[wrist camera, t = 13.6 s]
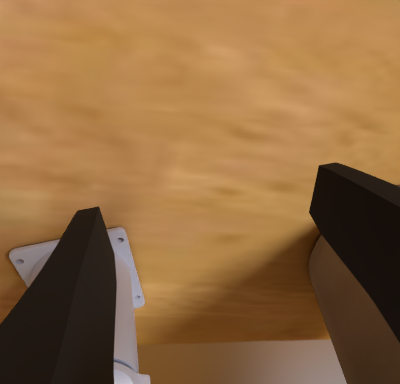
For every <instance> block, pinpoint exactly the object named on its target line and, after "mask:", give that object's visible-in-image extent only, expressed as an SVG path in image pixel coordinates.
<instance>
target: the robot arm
mask: <svg viewBox="0 0 400 384" xmlns="http://www.w3.org/2000/svg"><path fill="white" fill-rule="evenodd" d="M309 213H310V215H311V217H312V218H313V220H314V222H315V224H316V226H317V227H318V229H319V231H320V232H321V234H322V236H323V237H324V238H325V240H326V241H327V242H328V244H329V245H330V246H331V248H332V249H333V250H334V251H335V253H336V254H337V255H338V257H339V258H340V259H341V260H342V262H343V263H344V264H345V265H346V267H347V268H348V269H349V270H350V272H351V273H352V274H353V276H354V277H355V278H356V279H357V281H358V282H359V283H360V284H361V286H362V287H363V288H364V289H365V291H366V292H367V294H368V295H369V296H370V298H371V299H372V300H373V302H374V303H375V305H376V306H377V308H378V310H379V311H380V313H381V314H382V316H383V317H384V319H385V320H386V322H387V324H388V325H389V327H390V328H391V330H392V332H393V333H394V335H395V337H396V338H397V340H398V342H399V343H400V187H399V186H396V185H394V184H391V183H389V182H386V181H384V180H381V179H379V178H376V177H374V176H371V175H369V174H366V173H364V172H361V171H359V170H356V169H354V168H351V167H348V166H345V165H342V164H339V163H330V164H325V165H319V168H318V173H317V178H316V182H315V187H314V192H313V197H312V201H311V206H310V211H309ZM118 238H123V239H118ZM9 259H10V260H11V262H12V263H13V265H14V267H15V268H16V270H17V271H18V273H19V274H20V276H21V278H22V279H23V281H24V282H25V284H26V286H27V287H28V289H27V290H26V292H25V293H24V295H23V296H22V297H21V299H20V300H19V301H18V303H17V304H16V305H15V307H14V308H13V309H12V310H11V312H10V313H9V314H8V316H7V317H6V318H5V319H4V321H3V322H2V323H1V324H0V384H151V383H150V376H149V375H145V374H139V364H138V351H137V339H136V327H135V315H134V309H135V308H139V307H142V306H143V305H144V304H145V299H144V296H143V292H142V289H141V285H140V281H139V278H138V274H137V270H136V267H135V263H134V260H133V256H132V252H131V249H130V245H129V241H128V238H127V234H126V231H125V229H124V228H121V227H117V228H112V229H107V230H106V226H105V223H104V220H103V217H102V214H101V211H100V208H99V207H94V208H89V209H84V210H78V211H77V212H76V214H75V215H74V217H73V219H72V220H71V222H70V224H69V225H68V227H67V229H66V231H65V232H64V234H63V236H62V237H61V239H58V240H53V241H49V242H44V243H39V244H34V245H29V246H24V247H19V248H15V249H12V250H11V251H10V254H9ZM18 259H21V260H18Z"/></svg>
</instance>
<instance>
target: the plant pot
mask: <svg viewBox="0 0 400 384" xmlns="http://www.w3.org/2000/svg"><path fill="white" fill-rule="evenodd" d="M397 186H399V187H400V185H397ZM309 275H310V279H311V282H312V285H313V289H314V292H315V295H316V298H317V301H318V304H319V307H320V310H321V313H322V315H323V318H324V321H325V324H326V326H327V329H328V332H329V335H330V338H331V340H332V343H333V346H334V348H335V351H336V354H337V357H338V360H339V363H340V365H341V368H342V371H343V374H344V377H345V379H346V382H347V384H400V343H399V342H398V340H397V338H396V337H395V335H394V333H393V332H392V330H391V328H390V327H389V325H388V324H387V322H386V320H385V319H384V317H383V316H382V314H381V313H380V311H379V310H378V308H377V306H376V305H375V303H374V302H373V300H372V299H371V298H370V296H369V295H368V294H367V292H366V291H365V289H364V288H363V287H362V286H361V284H360V283H359V282H358V281H357V279H356V278H355V277H354V276H353V274H352V273H351V272H350V270H349V269H348V268H347V267H346V265H345V264H344V263H343V262H342V260H341V259H340V258H339V257H338V255H337V254H336V253H335V251H334V250H333V249H332V248H331V246H330V245H329V244H328V242H327V241H326V240H325V238H324V237H323V236H322V234H321V236H320V237H319V239H318V241H317V242H316V244H315V246H314V248H313V250H312V253H311V256H310V260H309Z"/></svg>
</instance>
